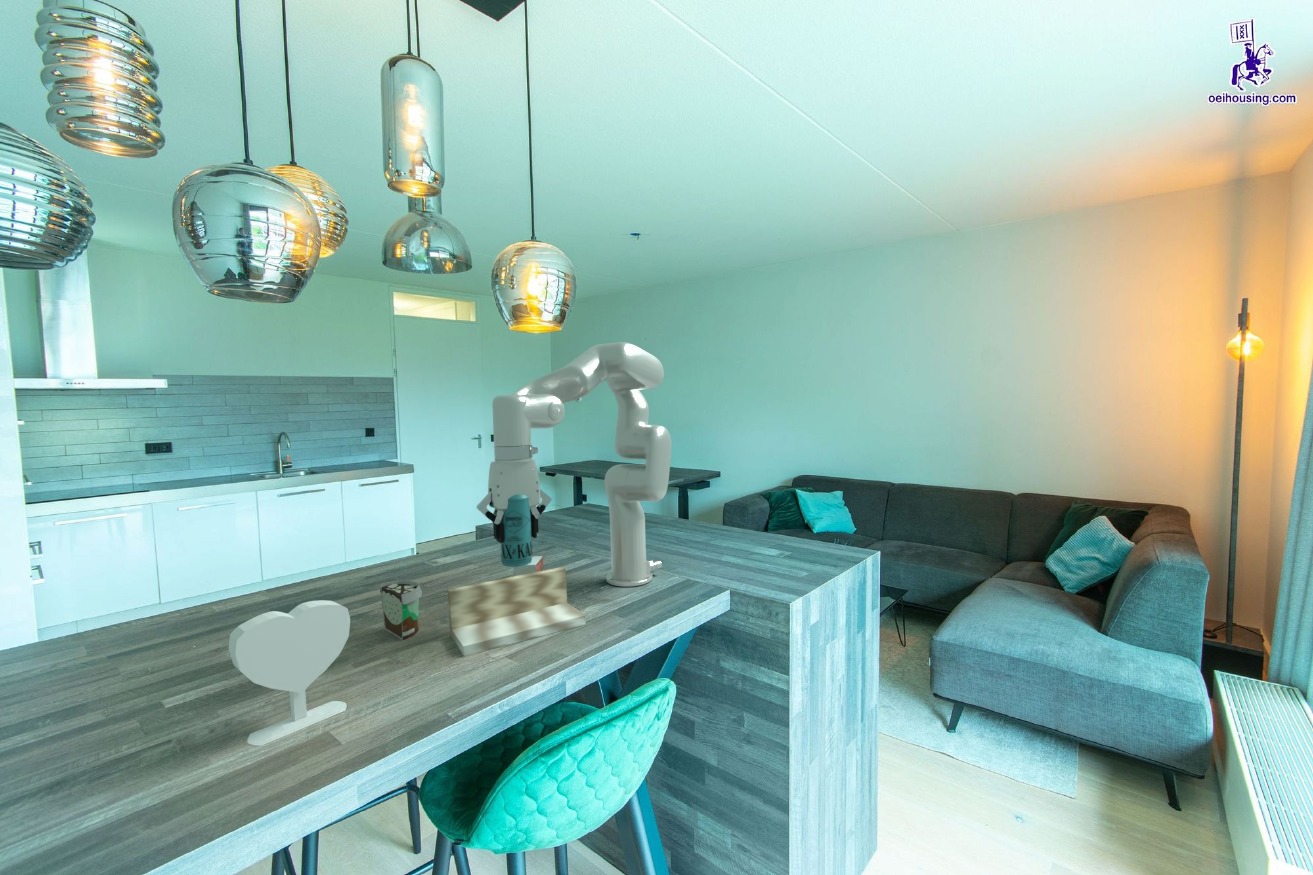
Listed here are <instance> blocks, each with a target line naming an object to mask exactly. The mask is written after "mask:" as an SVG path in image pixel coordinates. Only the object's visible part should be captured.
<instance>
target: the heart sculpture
mask: <svg viewBox="0 0 1313 875" xmlns="http://www.w3.org/2000/svg"><path fill="white" fill-rule="evenodd" d="M350 628H351V617H350V613H349V609H348V608H347V607H346V606H344V605H341V604H340V603H338V602H336V601H333V600H324V599H322V600H321V599H320V600H309V601H306V602H302V603H300V604H298V605H297V606H295V607H294V608H293V609H292V610H290V611H289V612H288V613H286V612H283V611H275V610H272V611H268V612H264V613H261V614H259V615H257V616H255V617H253V618H250V619H248V620H247V621H245V622H243V623H241V624H240V625H238V626H237V627H236V628H234V629H233V631H232V632H230V634H229V640H228V648H227V649H228V651H229V654H230V658H231V661H232V665H233V666H234V667H235V668H236V669H237V670H238V671H240V672H241V673H242V674H243V675H244V676H245V677H247V678H248V679H249V680H250V681H251V682H252V683H253V684H256V685H259V686H262V687H264V688H265V687H266V688H268V689H271V690H278V691H285V692H289V705H290V708H289V709H290V717H288V718H286V719H283V720H281V721H279V722H276V723H273V724H271V725H268V726H266V727H263V728H261V729H259V730H256V731H254V732H253V731H252V732H251V733H250V734H249V736H248V737H247V740H246V742H247V744H249V745H253V746H260V747H262V746H264V745H266V744H269V743H271V742H274V741H277V740H278V739H281V738H283V737H285V736H287V735H291V734H293V733H295V732H297V731H298V732H299V731H300V730H302V729H305V728H307V727H310V726H311V725H314V724H316V723H319V722H322V721H324V720H326V719H329V718H331V717H333V716H335V715H338V714H340V713H344V712H345V711H346V710H347V705H348V704H347V703H346V702H345V701H339V700H331V701H329V702H326V703H323V704H321V705H318V706H316V707H314V708H311V709H309V710H308V709H307V697H306V695H307V694H306V690H307V688H308V687H309V686H310V685H311V684H312V683H314V681H315V680H317V679H318V678H319V677H320V676H322V674H323V673H324V672H325V671H327V670H328V669H329V667H330V666H331V665H332V664H333V663H334V661H335V660H336V659H337V658H338V657H339V655H341V654H342V653H341V652H342V651H343V648H344V647H345V645H346V643H347V641H348V639H349V637H350Z"/></svg>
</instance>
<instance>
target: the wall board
mask: <svg viewBox="0 0 1313 875" xmlns="http://www.w3.org/2000/svg"><path fill="white" fill-rule="evenodd" d="M566 572H567V570H566V568H565V567H563V566H560V567H555V568H550V569H545V570H544V571H539V572H534V573H529V574H524V575H519V576H514V575H513V576H508V577H504V578H499V579H494V580H489V581H485V582H478V583H473V584H470V585H469V584H468V585H465V586H459V587H455V588H449V589H447V603H448V604H447V605H448V607H447V608H448V621H449V622H448V623H449V635H450V636H449V637H451V639H452V641H453V642H454V644H455V645H456V647H457V648H458V650H459V651H460V653H461V654H462V656H463V657H467V656H470V655H474V654H479V653H481V652H485V651H489V650H490V651H491V650H493V649H497V648H501V647H505V646H508V645H513V644H517V643H521V642H524V641H528V640H533V639H535V638H539V637H544V636H547V635H551V634H555V633H557V632H562V631H565V630H570V629H573V628H578V627H582V626H585V625H586V623H587V622H586V621H587V620H586V615H585V613H583V612H582V611H579V610H578V609H577V608H575V607H574V606H572V605H571V604H570V603H568V593H567V573H566Z"/></svg>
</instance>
